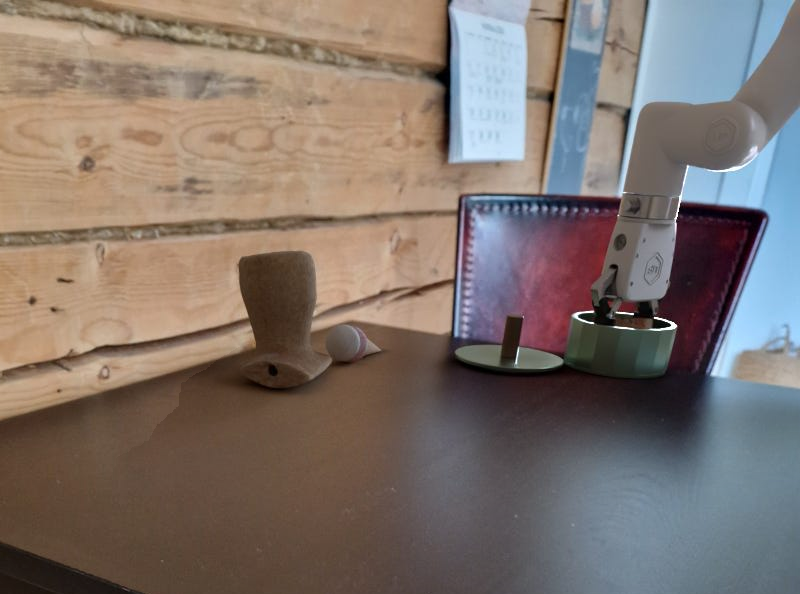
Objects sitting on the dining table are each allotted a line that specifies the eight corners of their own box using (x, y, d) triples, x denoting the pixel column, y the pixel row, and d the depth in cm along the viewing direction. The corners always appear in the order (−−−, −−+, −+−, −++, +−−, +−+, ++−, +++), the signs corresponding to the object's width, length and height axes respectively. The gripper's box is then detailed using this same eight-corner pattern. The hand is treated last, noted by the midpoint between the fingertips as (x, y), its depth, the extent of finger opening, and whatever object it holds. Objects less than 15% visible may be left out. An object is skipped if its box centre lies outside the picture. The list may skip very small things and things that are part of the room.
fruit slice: (638, 349, 127) (647, 313, 125) (652, 358, 121) (661, 322, 119) (582, 345, 127) (590, 310, 125) (593, 355, 122) (601, 318, 119)
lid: (504, 348, 133) (511, 303, 129) (584, 370, 122) (594, 321, 119) (432, 357, 125) (437, 309, 121) (511, 381, 114) (519, 329, 111)
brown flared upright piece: (255, 360, 117) (256, 240, 109) (339, 370, 115) (346, 247, 107) (215, 385, 104) (213, 251, 97) (309, 396, 102) (315, 259, 94)
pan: (603, 352, 134) (613, 308, 131) (685, 372, 124) (697, 325, 121) (543, 360, 127) (551, 314, 123) (624, 382, 117) (636, 333, 113)
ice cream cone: (361, 354, 129) (313, 345, 116) (379, 327, 126) (331, 315, 114) (384, 373, 128) (337, 367, 115) (402, 346, 125) (356, 336, 113)
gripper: (632, 212, 108) (602, 354, 117) (709, 212, 117) (676, 344, 126) (584, 207, 113) (559, 344, 122) (662, 208, 122) (633, 335, 131)
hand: (619, 343), depth 124 cm, fingers closed on fruit slice, 8 cm apart
